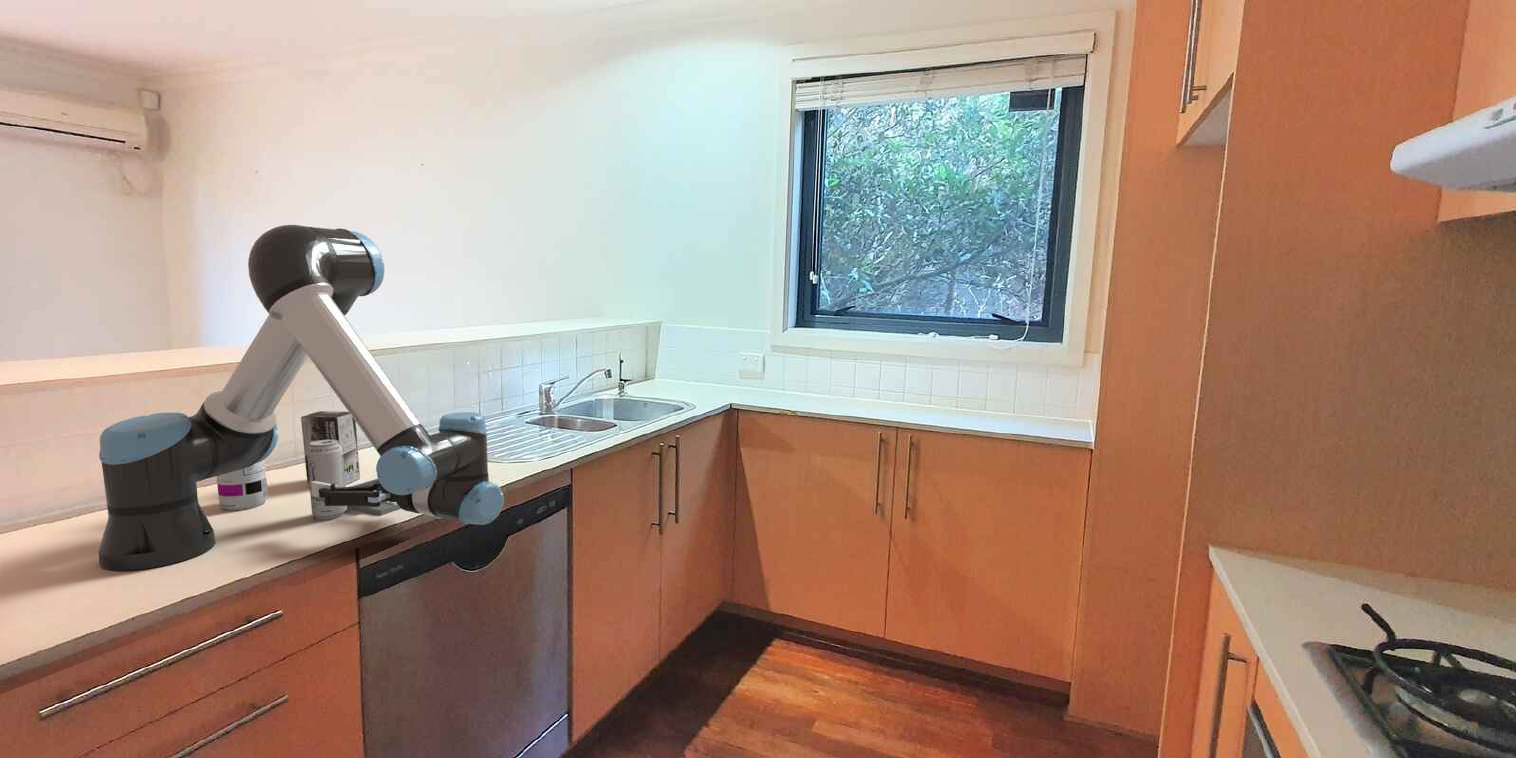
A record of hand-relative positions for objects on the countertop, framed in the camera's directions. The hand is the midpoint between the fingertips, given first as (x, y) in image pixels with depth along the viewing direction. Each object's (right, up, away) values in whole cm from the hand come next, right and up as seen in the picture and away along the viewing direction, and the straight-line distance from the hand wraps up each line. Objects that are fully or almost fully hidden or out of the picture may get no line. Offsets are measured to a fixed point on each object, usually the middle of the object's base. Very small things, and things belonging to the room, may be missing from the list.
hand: (347, 479), depth 137 cm
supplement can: (-27, -7, +9) cm, 29 cm away
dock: (+3, -6, +15) cm, 16 cm away
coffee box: (-18, -5, +26) cm, 32 cm away
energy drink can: (-5, -8, +3) cm, 10 cm away
